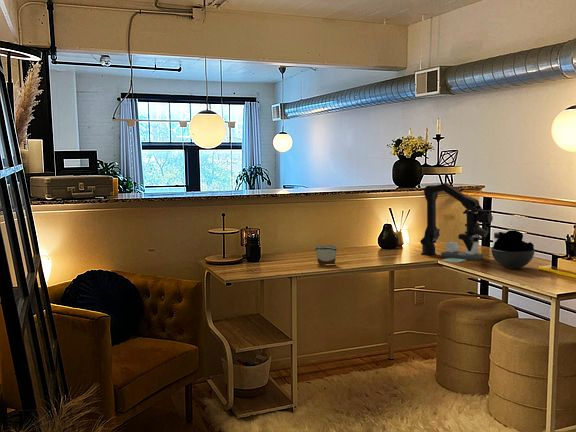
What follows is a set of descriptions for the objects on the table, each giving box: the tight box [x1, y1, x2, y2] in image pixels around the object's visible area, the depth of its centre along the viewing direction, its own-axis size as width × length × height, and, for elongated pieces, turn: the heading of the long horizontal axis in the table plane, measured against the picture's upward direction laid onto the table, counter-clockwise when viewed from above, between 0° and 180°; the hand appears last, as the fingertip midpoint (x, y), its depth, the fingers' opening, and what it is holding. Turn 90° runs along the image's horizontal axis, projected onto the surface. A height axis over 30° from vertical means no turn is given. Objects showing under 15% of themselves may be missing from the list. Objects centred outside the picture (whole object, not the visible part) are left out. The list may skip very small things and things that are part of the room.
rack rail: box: [440, 250, 484, 262], centre depth 311 cm, size 20×10×2 cm, turn 43°
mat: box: [441, 258, 467, 264], centre depth 304 cm, size 10×8×1 cm
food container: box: [314, 244, 338, 265], centre depth 304 cm, size 12×6×10 cm, turn 71°
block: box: [445, 241, 459, 253], centre depth 315 cm, size 4×4×8 cm
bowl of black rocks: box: [490, 229, 536, 270], centre depth 278 cm, size 20×20×19 cm
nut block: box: [465, 241, 479, 256], centre depth 306 cm, size 4×4×8 cm
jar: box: [492, 231, 506, 247], centre depth 317 cm, size 9×8×12 cm
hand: (471, 250), depth 307 cm, fingers closed on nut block, 4 cm apart
